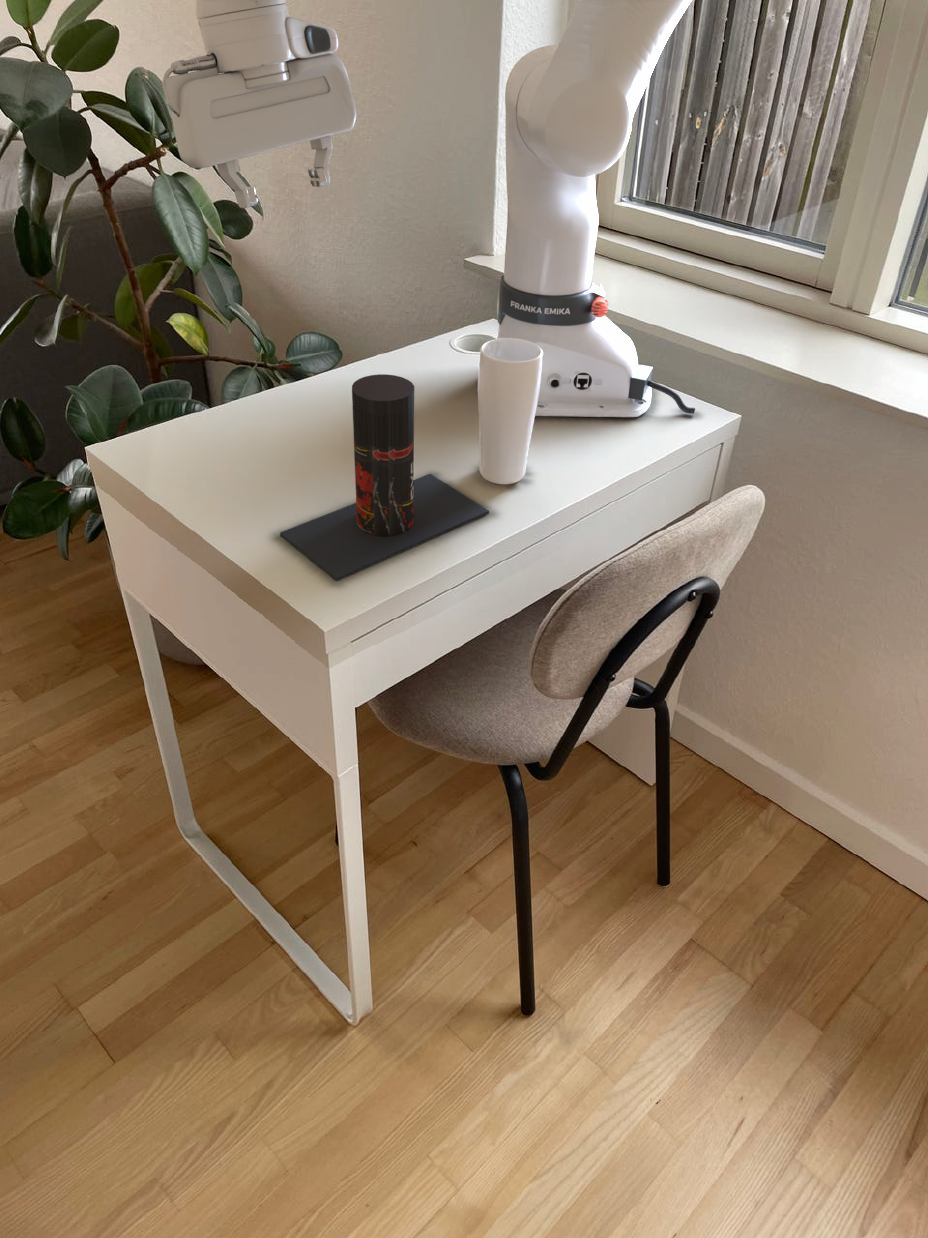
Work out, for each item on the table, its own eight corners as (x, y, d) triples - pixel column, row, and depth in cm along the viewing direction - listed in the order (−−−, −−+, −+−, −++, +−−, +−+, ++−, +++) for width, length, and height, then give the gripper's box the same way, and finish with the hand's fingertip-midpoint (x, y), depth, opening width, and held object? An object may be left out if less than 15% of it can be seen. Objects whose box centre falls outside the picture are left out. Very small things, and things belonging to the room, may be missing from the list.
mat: (430, 476, 106) (430, 473, 106) (489, 513, 101) (489, 510, 100) (280, 535, 96) (279, 532, 95) (336, 581, 90) (336, 577, 90)
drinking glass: (526, 493, 104) (539, 366, 95) (467, 485, 105) (473, 358, 96) (535, 464, 109) (547, 341, 100) (478, 457, 110) (485, 333, 101)
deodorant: (417, 534, 96) (419, 399, 87) (360, 538, 95) (355, 402, 86) (408, 504, 101) (409, 372, 91) (353, 508, 99) (348, 375, 90)
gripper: (172, 61, 85) (216, 221, 93) (349, 27, 95) (376, 174, 103) (142, 66, 89) (187, 218, 97) (314, 33, 100) (343, 173, 107)
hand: (285, 195), depth 100 cm, fingers open, 8 cm apart
